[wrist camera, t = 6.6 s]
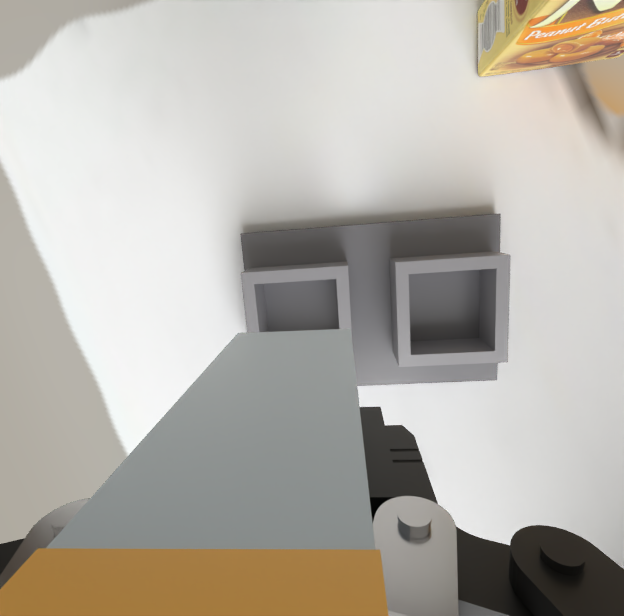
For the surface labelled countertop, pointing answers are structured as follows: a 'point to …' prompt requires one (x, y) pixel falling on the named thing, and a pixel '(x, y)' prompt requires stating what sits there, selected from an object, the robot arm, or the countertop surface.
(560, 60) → the candy box
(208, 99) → the countertop surface
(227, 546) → the plug
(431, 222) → the grey boxy piece
